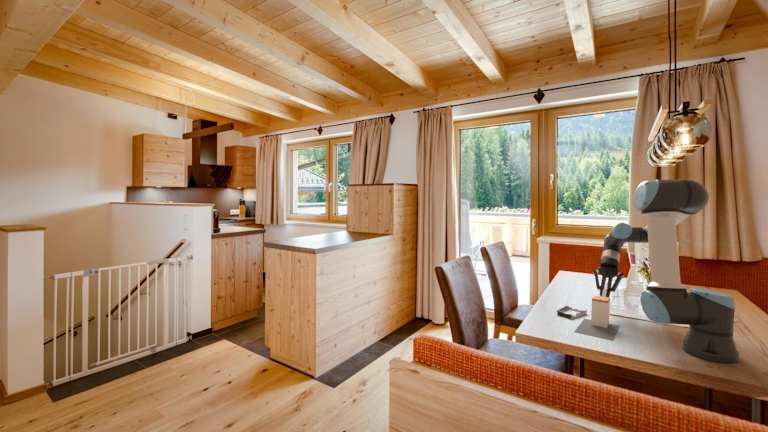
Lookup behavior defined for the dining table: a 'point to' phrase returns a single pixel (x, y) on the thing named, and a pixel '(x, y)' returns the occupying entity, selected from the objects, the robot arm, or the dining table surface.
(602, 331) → the charcoal mat
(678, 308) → the robot arm
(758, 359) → the dining table surface
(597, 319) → the off-white block
